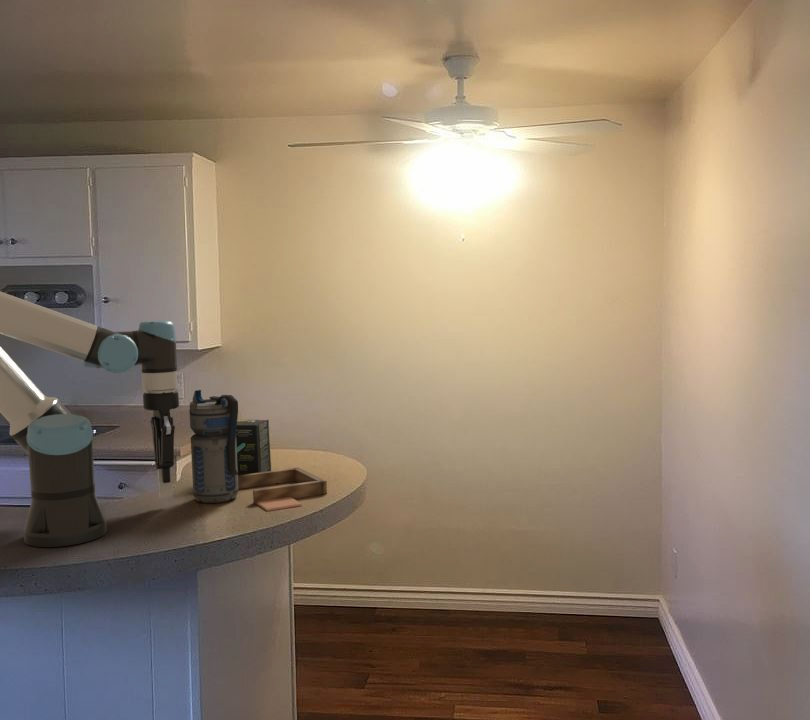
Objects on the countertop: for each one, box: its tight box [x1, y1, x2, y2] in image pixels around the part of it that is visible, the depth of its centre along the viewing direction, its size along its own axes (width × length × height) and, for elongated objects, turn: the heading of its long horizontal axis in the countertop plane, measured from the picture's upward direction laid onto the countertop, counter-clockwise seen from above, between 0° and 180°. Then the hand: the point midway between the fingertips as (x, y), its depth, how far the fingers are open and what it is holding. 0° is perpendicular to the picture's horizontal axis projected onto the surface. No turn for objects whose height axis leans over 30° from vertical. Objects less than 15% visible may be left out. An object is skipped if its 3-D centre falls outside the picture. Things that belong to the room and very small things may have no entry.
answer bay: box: [238, 467, 328, 505], centre depth 197 cm, size 17×18×3 cm
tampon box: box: [236, 419, 272, 475], centre depth 211 cm, size 11×9×15 cm
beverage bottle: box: [189, 389, 239, 504], centre depth 189 cm, size 10×13×25 cm
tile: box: [256, 497, 303, 512], centre depth 184 cm, size 8×8×1 cm
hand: (165, 496), depth 184 cm, fingers closed
